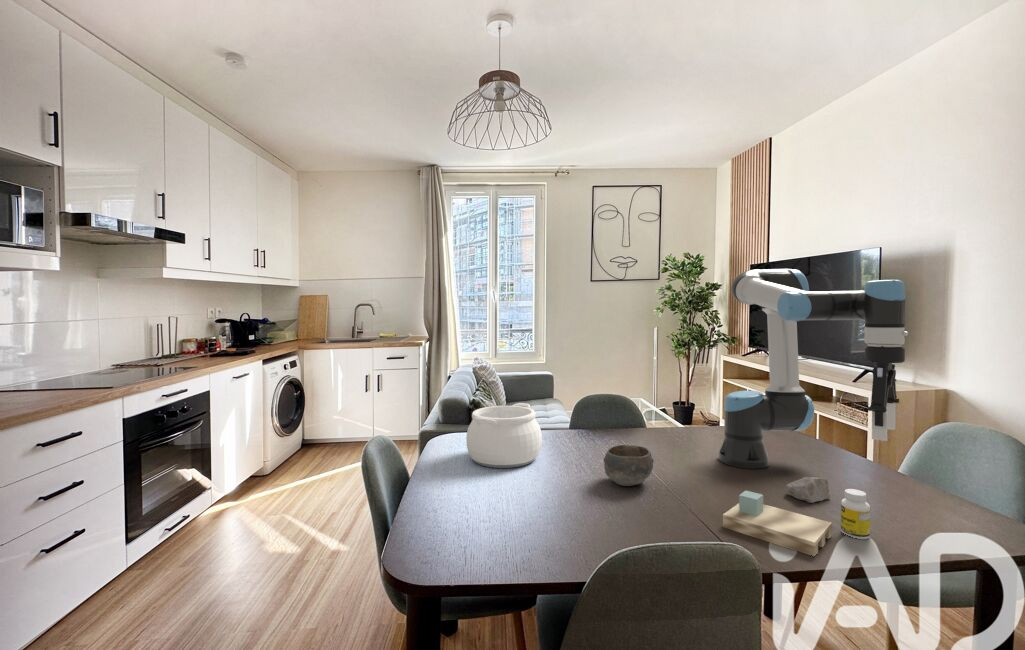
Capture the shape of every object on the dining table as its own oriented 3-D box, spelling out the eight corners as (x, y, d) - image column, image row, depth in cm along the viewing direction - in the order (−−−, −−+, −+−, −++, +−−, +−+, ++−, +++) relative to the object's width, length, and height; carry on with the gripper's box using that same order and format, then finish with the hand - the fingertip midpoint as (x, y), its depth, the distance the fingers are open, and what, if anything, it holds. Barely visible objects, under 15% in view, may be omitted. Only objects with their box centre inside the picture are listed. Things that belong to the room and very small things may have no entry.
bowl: (656, 478, 145) (656, 445, 145) (648, 496, 132) (648, 460, 131) (611, 472, 151) (611, 441, 151) (598, 489, 137) (598, 454, 137)
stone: (812, 491, 134) (812, 470, 134) (836, 502, 126) (836, 480, 126) (781, 493, 132) (781, 473, 132) (803, 505, 124) (803, 483, 124)
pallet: (722, 527, 113) (722, 514, 113) (744, 510, 121) (744, 499, 121) (814, 556, 99) (814, 542, 99) (831, 535, 108) (831, 522, 108)
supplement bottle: (834, 529, 111) (835, 488, 110) (856, 528, 111) (857, 487, 111) (853, 540, 105) (853, 497, 105) (876, 539, 106) (876, 496, 105)
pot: (515, 478, 147) (514, 423, 147) (448, 464, 161) (447, 414, 161) (556, 453, 172) (556, 406, 172) (496, 443, 186) (495, 399, 185)
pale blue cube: (739, 511, 114) (739, 494, 114) (745, 506, 117) (745, 490, 117) (756, 516, 111) (756, 499, 111) (763, 511, 114) (763, 494, 114)
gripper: (897, 349, 101) (897, 448, 102) (910, 343, 119) (910, 427, 119) (854, 347, 107) (854, 441, 107) (873, 342, 124) (873, 422, 125)
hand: (884, 434), depth 113 cm, fingers open, 13 cm apart
